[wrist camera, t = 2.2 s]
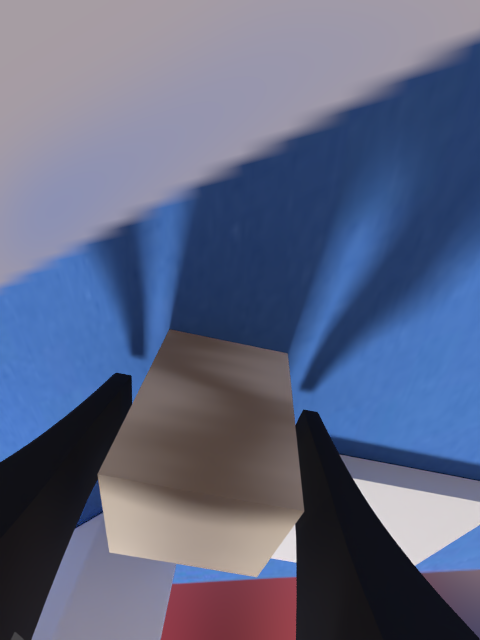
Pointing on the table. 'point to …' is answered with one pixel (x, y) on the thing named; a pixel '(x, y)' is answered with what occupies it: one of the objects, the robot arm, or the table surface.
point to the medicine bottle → (104, 592)
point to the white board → (410, 507)
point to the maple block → (205, 459)
